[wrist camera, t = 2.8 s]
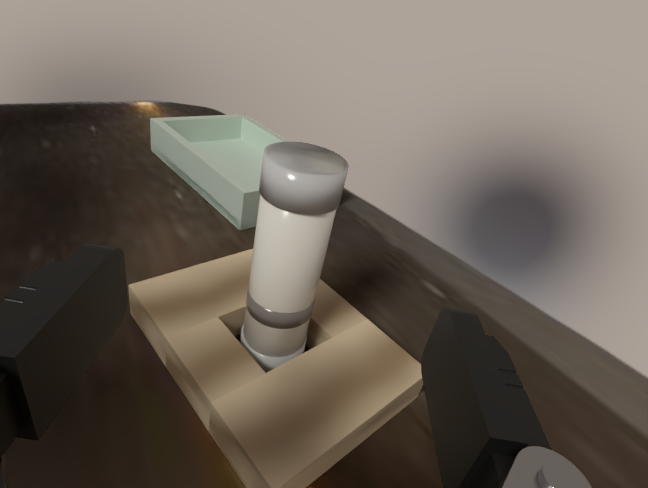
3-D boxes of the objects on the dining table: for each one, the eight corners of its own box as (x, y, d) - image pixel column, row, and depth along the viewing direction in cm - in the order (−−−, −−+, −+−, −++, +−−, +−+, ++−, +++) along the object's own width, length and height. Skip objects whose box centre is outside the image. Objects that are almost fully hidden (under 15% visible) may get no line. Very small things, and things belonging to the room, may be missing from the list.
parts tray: (151, 150, 51) (150, 118, 49) (241, 142, 59) (244, 114, 57) (240, 230, 40) (243, 193, 38) (336, 206, 48) (344, 174, 46)
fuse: (226, 346, 28) (246, 145, 20) (277, 324, 30) (311, 138, 23) (262, 391, 25) (300, 182, 18) (314, 362, 28) (365, 169, 21)
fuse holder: (130, 313, 28) (128, 284, 27) (272, 265, 36) (276, 241, 35) (266, 519, 19) (273, 491, 18) (417, 397, 27) (429, 371, 26)
